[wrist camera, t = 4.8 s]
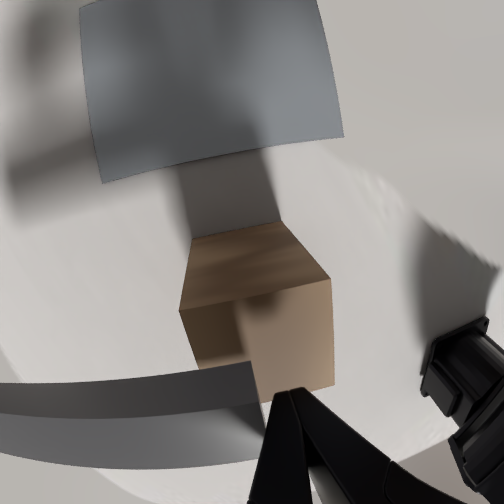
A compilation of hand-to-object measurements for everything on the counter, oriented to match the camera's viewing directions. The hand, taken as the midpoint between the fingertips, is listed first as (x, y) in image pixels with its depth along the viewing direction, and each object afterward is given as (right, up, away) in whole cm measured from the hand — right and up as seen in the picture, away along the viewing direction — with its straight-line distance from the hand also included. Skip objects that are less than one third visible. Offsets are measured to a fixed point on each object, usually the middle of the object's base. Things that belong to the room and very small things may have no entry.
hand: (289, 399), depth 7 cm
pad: (-3, +13, +5) cm, 14 cm away
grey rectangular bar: (-6, -1, 0) cm, 6 cm away
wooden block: (-1, +3, +9) cm, 9 cm away
